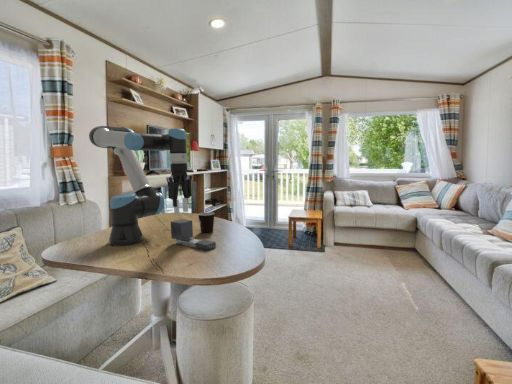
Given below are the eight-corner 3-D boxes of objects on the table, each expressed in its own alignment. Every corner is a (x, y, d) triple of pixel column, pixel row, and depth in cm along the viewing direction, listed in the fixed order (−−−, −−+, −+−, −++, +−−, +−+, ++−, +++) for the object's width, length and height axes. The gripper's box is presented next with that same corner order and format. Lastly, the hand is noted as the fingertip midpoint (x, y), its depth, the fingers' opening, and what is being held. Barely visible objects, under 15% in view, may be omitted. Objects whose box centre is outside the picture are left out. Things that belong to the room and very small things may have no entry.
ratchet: (173, 243, 137) (173, 232, 136) (183, 240, 142) (182, 229, 141) (206, 250, 124) (206, 238, 124) (216, 247, 129) (215, 235, 129)
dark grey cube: (171, 238, 136) (170, 221, 135) (183, 234, 142) (182, 218, 141) (181, 240, 132) (180, 223, 131) (192, 236, 138) (192, 220, 137)
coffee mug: (213, 233, 152) (212, 215, 151) (197, 234, 152) (196, 215, 151) (217, 228, 164) (216, 211, 163) (202, 228, 164) (201, 211, 163)
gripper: (168, 163, 124) (171, 216, 126) (198, 162, 138) (200, 210, 141) (157, 163, 128) (160, 215, 131) (187, 162, 142) (189, 208, 145)
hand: (181, 212), depth 136 cm, fingers open, 4 cm apart
